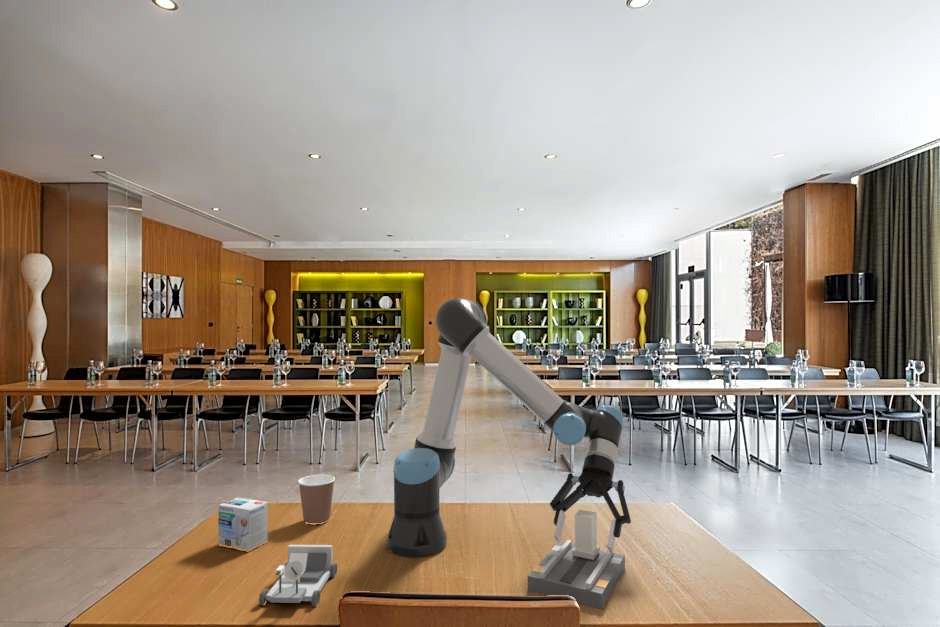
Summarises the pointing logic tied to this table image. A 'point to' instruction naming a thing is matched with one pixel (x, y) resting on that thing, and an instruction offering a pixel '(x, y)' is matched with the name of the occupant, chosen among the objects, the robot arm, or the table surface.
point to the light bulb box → (242, 523)
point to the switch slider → (586, 535)
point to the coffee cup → (316, 497)
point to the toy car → (302, 575)
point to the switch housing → (577, 575)
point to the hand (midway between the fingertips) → (582, 544)
